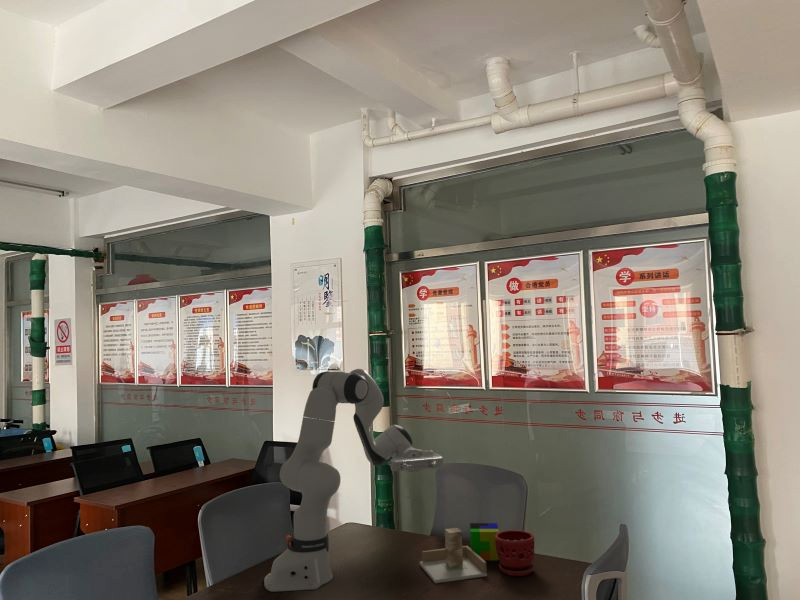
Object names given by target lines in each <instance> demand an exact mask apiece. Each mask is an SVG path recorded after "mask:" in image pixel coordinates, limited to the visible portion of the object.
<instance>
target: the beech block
mask: <svg viewBox="0 0 800 600" xmlns="http://www.w3.org/2000/svg"><path fill="white" fill-rule="evenodd" d="M462 533H463V532H462V530H461V529H460V528H458V527H452V528H451V527H450V528H444V542H445V547H444V549H445V550H446V565H447V566H448V567H449V568H450V569H457V568H463V557H462V546H463V534H462Z"/></svg>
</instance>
